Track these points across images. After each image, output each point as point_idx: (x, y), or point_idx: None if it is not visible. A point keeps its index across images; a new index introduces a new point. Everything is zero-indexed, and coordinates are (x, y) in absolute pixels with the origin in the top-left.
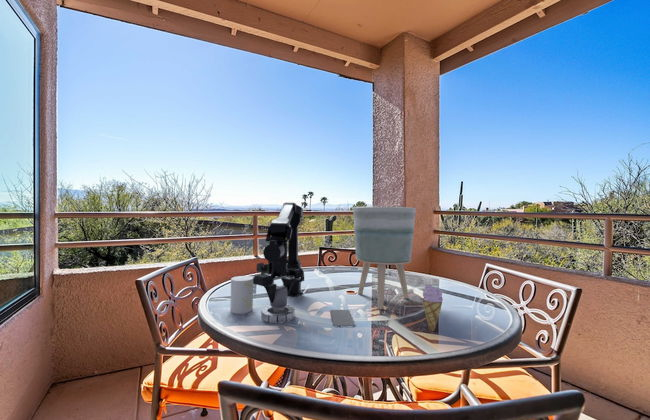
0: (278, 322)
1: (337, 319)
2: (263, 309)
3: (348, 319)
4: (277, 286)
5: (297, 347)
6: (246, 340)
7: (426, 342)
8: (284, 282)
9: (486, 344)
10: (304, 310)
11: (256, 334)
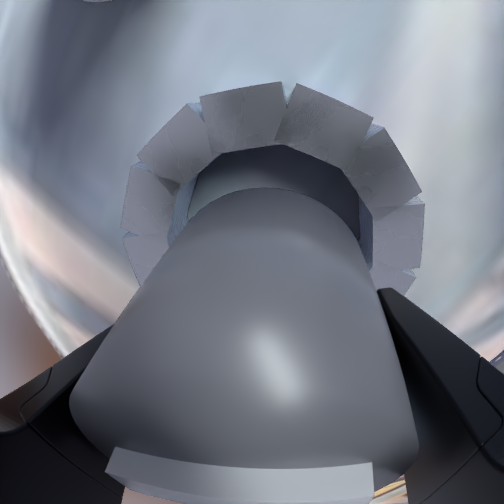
0: None
1: None
2: (158, 148)
3: None
4: (197, 499)
5: None
6: (52, 334)
7: (400, 494)
8: (474, 497)
9: None
10: (489, 248)
11: (83, 326)
